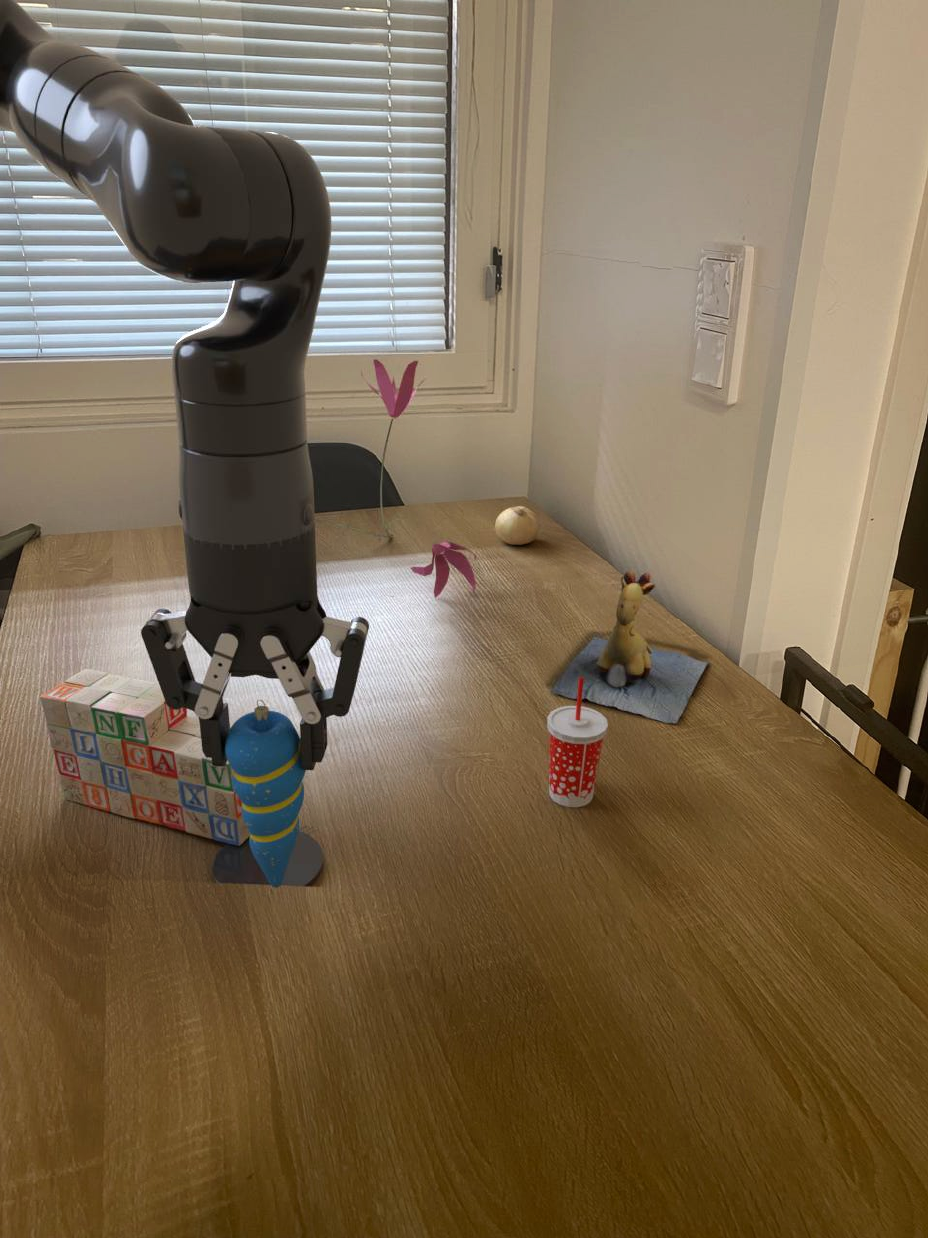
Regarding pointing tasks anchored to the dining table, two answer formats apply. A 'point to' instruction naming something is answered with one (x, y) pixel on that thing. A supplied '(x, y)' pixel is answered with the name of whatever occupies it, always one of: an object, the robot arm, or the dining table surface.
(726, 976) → the dining table surface
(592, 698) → the stuffed giraffe
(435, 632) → the dining table surface
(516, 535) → the onion
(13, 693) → the dining table surface
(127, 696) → the stack of blocks
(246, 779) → the ornament
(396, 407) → the decorative plant
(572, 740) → the beverage cup
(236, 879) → the slate coaster
